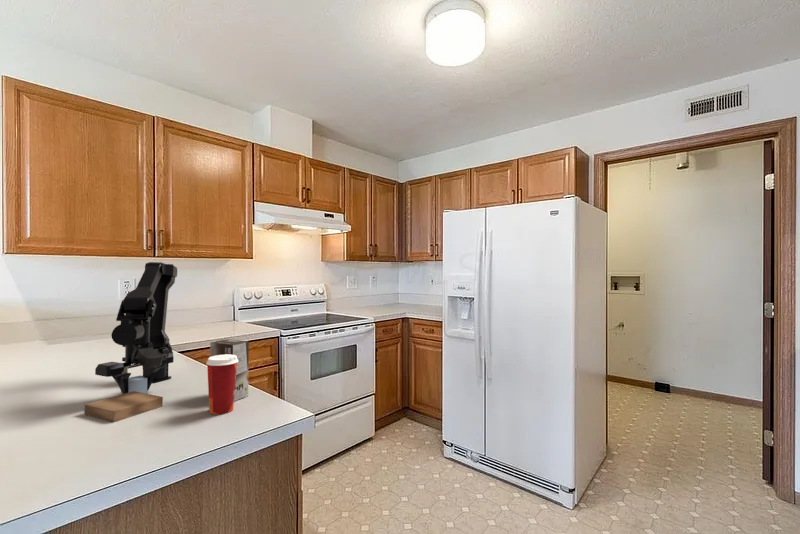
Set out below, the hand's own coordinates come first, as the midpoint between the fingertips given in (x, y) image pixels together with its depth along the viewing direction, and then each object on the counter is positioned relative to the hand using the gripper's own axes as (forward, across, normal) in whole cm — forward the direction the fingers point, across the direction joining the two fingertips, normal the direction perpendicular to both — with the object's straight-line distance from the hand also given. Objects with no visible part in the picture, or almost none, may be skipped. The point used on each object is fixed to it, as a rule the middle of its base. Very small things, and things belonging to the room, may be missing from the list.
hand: (136, 393), depth 109 cm
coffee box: (+1, +11, -24) cm, 26 cm away
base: (+1, -8, -8) cm, 11 cm away
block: (+1, 0, +2) cm, 2 cm away
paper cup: (+1, +2, -31) cm, 31 cm away
